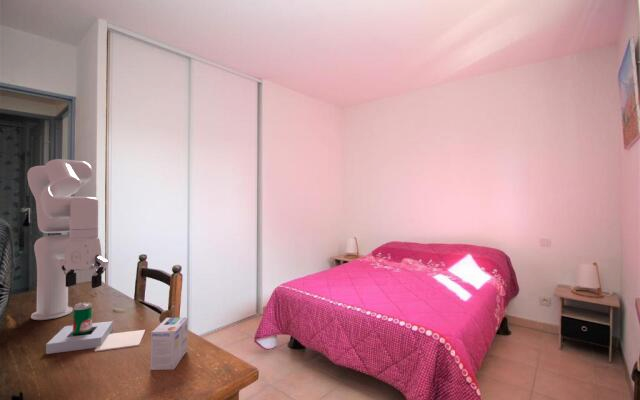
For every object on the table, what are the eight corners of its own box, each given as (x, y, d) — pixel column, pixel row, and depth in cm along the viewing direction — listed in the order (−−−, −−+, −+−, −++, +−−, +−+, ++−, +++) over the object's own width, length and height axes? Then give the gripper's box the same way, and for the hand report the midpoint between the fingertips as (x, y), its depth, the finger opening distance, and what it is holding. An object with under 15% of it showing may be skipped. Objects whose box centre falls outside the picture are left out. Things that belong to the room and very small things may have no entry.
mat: (105, 335, 107) (105, 334, 107) (145, 330, 111) (145, 329, 111) (94, 351, 96) (94, 350, 96) (139, 345, 100) (139, 344, 100)
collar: (64, 334, 107) (65, 326, 107) (112, 329, 112) (112, 321, 112) (46, 354, 94) (46, 344, 94) (101, 346, 99) (101, 337, 99)
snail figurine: (180, 338, 106) (181, 302, 106) (165, 346, 100) (166, 308, 100) (168, 335, 108) (168, 300, 108) (152, 343, 102) (153, 306, 101)
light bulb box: (165, 351, 96) (166, 316, 96) (187, 351, 97) (188, 316, 97) (149, 370, 86) (150, 331, 86) (174, 370, 86) (175, 331, 86)
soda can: (81, 345, 100) (81, 307, 100) (68, 343, 101) (69, 306, 101) (95, 338, 105) (96, 302, 105) (83, 336, 106) (83, 301, 106)
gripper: (50, 235, 100) (49, 288, 100) (97, 235, 98) (96, 290, 97) (72, 232, 108) (71, 282, 107) (116, 233, 105) (116, 284, 105)
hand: (83, 286), depth 102 cm, fingers open, 9 cm apart
